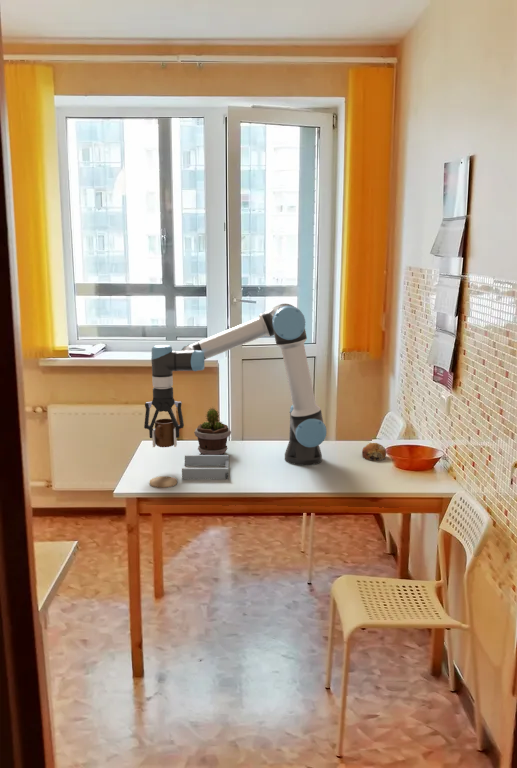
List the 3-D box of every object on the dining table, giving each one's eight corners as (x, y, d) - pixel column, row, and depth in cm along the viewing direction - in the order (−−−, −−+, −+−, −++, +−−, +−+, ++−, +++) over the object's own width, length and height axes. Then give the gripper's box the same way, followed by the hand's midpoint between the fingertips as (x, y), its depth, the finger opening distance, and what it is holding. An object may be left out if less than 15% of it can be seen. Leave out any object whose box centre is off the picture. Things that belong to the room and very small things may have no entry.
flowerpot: (230, 459, 269) (230, 411, 265) (192, 458, 269) (192, 410, 265) (231, 448, 283) (232, 403, 279) (196, 448, 283) (196, 402, 279)
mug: (166, 451, 245) (166, 427, 243) (147, 450, 246) (146, 425, 245) (178, 442, 256) (177, 419, 254) (160, 441, 258) (159, 418, 256)
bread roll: (387, 465, 275) (391, 447, 277) (379, 461, 267) (383, 442, 268) (365, 461, 281) (369, 443, 282) (356, 457, 272) (360, 438, 273)
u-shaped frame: (228, 464, 262) (228, 455, 261) (228, 479, 246) (228, 468, 245) (184, 464, 261) (184, 454, 261) (181, 479, 245) (181, 468, 244)
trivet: (178, 478, 246) (178, 476, 245) (176, 487, 236) (176, 485, 236) (151, 478, 245) (151, 476, 245) (147, 487, 235) (147, 485, 235)
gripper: (190, 384, 250) (192, 442, 255) (136, 385, 249) (139, 443, 254) (189, 388, 243) (191, 448, 247) (134, 389, 242) (136, 449, 247)
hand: (164, 445), depth 251 cm, fingers closed on mug, 7 cm apart
